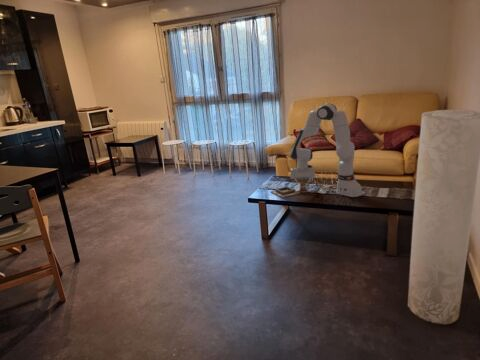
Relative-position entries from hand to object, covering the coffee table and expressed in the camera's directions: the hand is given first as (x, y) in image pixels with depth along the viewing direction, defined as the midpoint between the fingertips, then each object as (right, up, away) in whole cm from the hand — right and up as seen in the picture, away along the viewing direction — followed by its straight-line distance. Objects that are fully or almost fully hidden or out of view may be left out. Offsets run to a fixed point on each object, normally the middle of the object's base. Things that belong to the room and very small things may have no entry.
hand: (302, 182), depth 274 cm
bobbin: (0, -7, 0) cm, 7 cm away
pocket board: (-14, -8, 0) cm, 17 cm away
